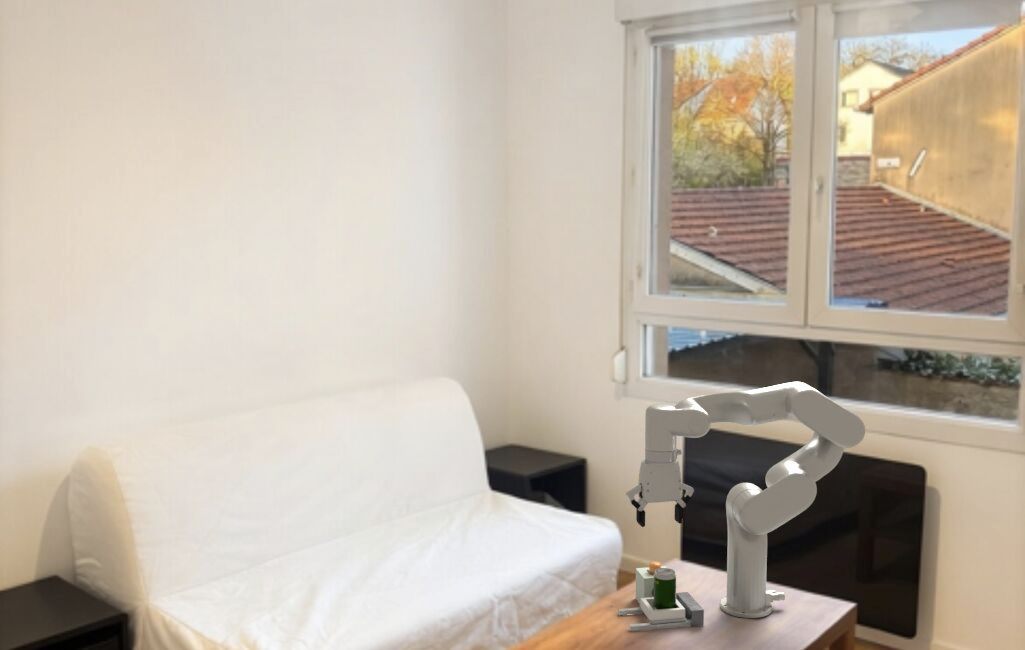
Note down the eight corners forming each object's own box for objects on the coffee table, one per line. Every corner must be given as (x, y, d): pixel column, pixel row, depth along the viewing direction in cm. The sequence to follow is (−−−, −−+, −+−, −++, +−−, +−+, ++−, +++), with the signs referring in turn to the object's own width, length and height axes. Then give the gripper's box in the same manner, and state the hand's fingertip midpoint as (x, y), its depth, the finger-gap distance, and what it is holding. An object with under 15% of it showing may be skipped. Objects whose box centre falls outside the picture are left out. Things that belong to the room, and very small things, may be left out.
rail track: (687, 607, 244) (687, 592, 243) (703, 625, 233) (703, 609, 232) (618, 613, 241) (618, 597, 240) (631, 632, 230) (631, 616, 229)
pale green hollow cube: (665, 595, 251) (665, 565, 250) (675, 607, 244) (675, 576, 243) (635, 598, 250) (635, 568, 249) (644, 610, 242) (644, 579, 241)
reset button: (658, 570, 248) (659, 561, 247) (662, 575, 245) (662, 565, 244) (647, 571, 247) (647, 562, 247) (651, 575, 244) (651, 566, 244)
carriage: (671, 603, 243) (671, 593, 242) (686, 620, 232) (686, 610, 232) (639, 606, 241) (639, 596, 241) (652, 623, 231) (652, 613, 230)
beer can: (663, 625, 233) (664, 577, 232) (648, 617, 238) (649, 570, 236) (680, 620, 236) (680, 572, 235) (665, 612, 241) (665, 566, 239)
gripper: (687, 449, 243) (686, 516, 245) (621, 454, 239) (621, 521, 241) (700, 457, 236) (699, 525, 238) (632, 462, 232) (632, 531, 234)
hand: (659, 523), depth 239 cm, fingers open, 9 cm apart
